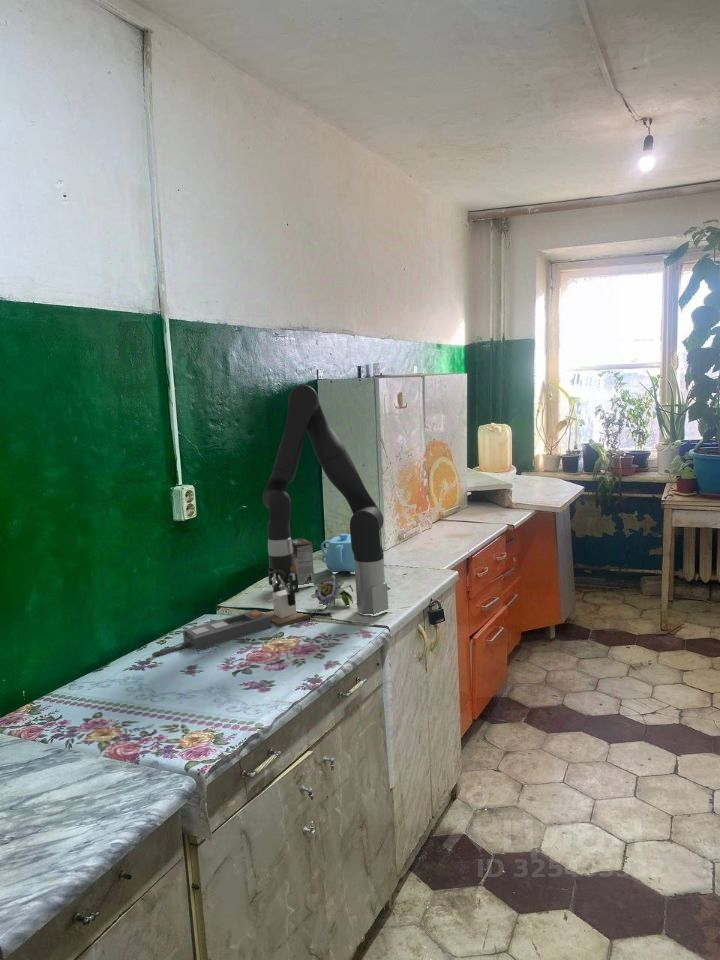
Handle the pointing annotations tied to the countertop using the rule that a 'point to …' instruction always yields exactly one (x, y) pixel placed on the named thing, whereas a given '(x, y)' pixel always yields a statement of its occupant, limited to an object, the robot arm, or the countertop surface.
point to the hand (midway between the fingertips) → (284, 602)
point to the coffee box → (303, 561)
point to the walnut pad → (286, 618)
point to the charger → (282, 604)
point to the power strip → (222, 630)
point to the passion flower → (332, 592)
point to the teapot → (339, 554)
